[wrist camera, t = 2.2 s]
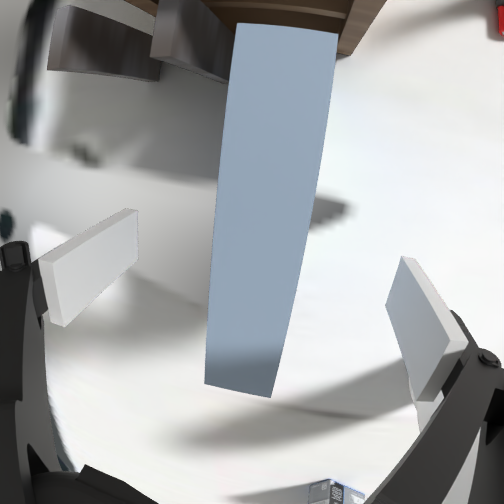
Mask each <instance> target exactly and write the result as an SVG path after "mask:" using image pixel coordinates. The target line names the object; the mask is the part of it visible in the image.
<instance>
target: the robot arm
mask: <svg viewBox="0 0 504 504" xmlns="http://www.w3.org/2000/svg"><path fill="white" fill-rule="evenodd" d="M137 260H138V210H132V209H123V210H121V211H120V212H118V213H116V214H114V215H112V216H110V217H109V218H107V219H105V220H103V221H101V222H99V223H98V224H96V225H94V226H92V227H91V228H89V229H87V230H85V231H84V232H82V233H80V234H78V235H77V236H75V237H73V238H72V239H70V240H68V241H67V242H65V243H63V244H61V245H59V246H58V247H56V248H54V249H53V250H51V251H50V252H48V253H46V254H45V255H43V256H41V257H40V258H38V259H37V260H35V261H34V262H32V263H31V258H30V252H29V245H28V243H27V242H24V241H14V242H9V243H7V244H4V245H3V246H1V247H0V261H1V266H2V271H0V504H158V503H157V502H155V501H153V500H152V499H150V498H149V497H147V496H145V495H144V494H142V493H141V492H139V491H138V490H136V489H135V488H133V487H132V486H130V485H129V484H127V483H126V482H124V481H122V480H119V479H117V478H115V477H112V476H110V475H108V474H105V473H103V472H101V471H99V470H96V469H94V468H92V467H90V466H88V465H86V464H85V465H84V467H83V469H82V470H81V472H80V473H78V472H71V471H62V470H61V467H60V465H59V462H58V459H57V454H56V450H55V444H54V438H53V432H52V426H51V419H50V411H49V403H48V393H47V382H46V369H45V348H44V320H43V316H42V314H43V313H44V312H46V311H47V310H48V313H49V317H50V321H51V322H52V323H54V324H57V325H59V326H62V327H64V328H65V327H66V326H67V325H68V324H69V323H70V322H71V321H72V320H73V319H74V318H75V317H76V316H77V315H78V314H79V313H80V312H82V311H83V310H84V309H85V308H86V307H87V306H88V305H89V304H90V303H91V302H92V301H93V300H94V299H95V298H96V297H97V296H99V295H100V294H101V293H102V292H103V291H104V290H105V289H106V288H107V287H108V286H109V285H111V284H112V283H113V282H114V281H115V280H116V279H117V278H118V277H119V276H120V275H122V274H123V273H124V272H125V271H126V270H127V269H128V268H129V267H131V266H132V265H133V264H134V263H135V262H136V261H137ZM385 306H386V309H387V312H388V315H389V317H390V320H391V323H392V326H393V329H394V332H395V335H396V338H397V341H398V344H399V347H400V350H401V353H402V356H403V359H404V363H405V366H406V369H407V372H408V376H409V379H410V383H411V386H412V390H413V393H414V397H415V400H416V401H420V402H434V400H435V399H436V397H437V395H438V394H439V392H440V391H442V393H443V396H444V399H443V400H442V402H441V403H440V405H439V406H438V407H437V409H436V410H435V412H434V413H433V415H432V416H431V417H430V420H429V422H428V423H427V425H426V426H425V427H424V429H423V430H422V432H421V433H420V435H419V436H418V437H417V439H416V440H415V442H414V443H413V444H412V446H411V447H410V448H409V450H408V451H407V452H406V454H405V455H404V456H403V458H402V459H401V460H400V461H399V463H398V464H397V465H396V466H395V468H394V469H393V470H392V471H391V473H390V474H389V475H388V476H387V477H386V479H385V480H384V481H383V482H382V483H381V484H380V486H379V487H378V488H377V489H376V490H375V491H374V492H373V493H372V495H371V496H370V497H369V498H368V499H367V500H366V501H365V502H364V503H363V504H442V502H443V501H444V499H445V497H446V496H447V494H448V492H449V491H450V489H451V487H452V485H453V483H454V482H455V480H456V478H457V476H458V474H459V472H460V470H461V468H462V466H463V464H464V462H465V460H466V458H467V456H468V454H469V452H470V450H471V448H472V446H473V443H474V441H475V439H476V437H477V434H478V432H479V430H480V437H479V445H478V452H477V459H476V465H475V470H474V476H473V481H472V486H471V490H470V495H469V499H468V503H467V504H504V369H503V368H501V362H500V360H499V359H498V358H497V356H496V355H495V354H493V353H492V352H490V351H488V350H486V349H482V348H479V347H478V345H477V344H476V342H475V340H474V339H473V337H472V335H471V334H470V332H469V331H468V329H467V327H466V326H465V324H464V323H463V321H462V319H461V318H460V317H459V316H458V315H457V314H456V313H455V312H454V311H453V310H449V308H448V307H447V305H446V304H445V302H444V301H443V299H442V298H441V296H440V294H439V293H438V291H437V290H436V288H435V287H434V285H433V284H432V282H431V281H430V279H429V278H428V277H427V275H426V274H425V272H424V271H423V269H422V268H421V266H420V265H419V264H418V262H417V261H416V259H413V258H408V257H403V256H401V259H400V262H399V266H398V269H397V272H396V275H395V278H394V281H393V284H392V287H391V290H390V293H389V296H388V299H387V302H386V304H385ZM480 427H481V428H480Z"/></svg>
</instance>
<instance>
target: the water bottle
mask: <svg viewBox="0 0 504 504" xmlns="http://www.w3.org/2000/svg"><path fill="white" fill-rule="evenodd" d="M409 389H410V393H411V397H412V400H413V403H414V405H415V408H416V410H417V418H418V425H419V430H420V433H421V432H422V430H423V429H424V427H425V426H426V425H427V423H428V422H429V420H430V417H431V416H432V415H433V413H434V412H435V410H436V409H437V407H438V406H439V405H440V403H441V402H442V400H443V399H444V396H443V393H442V391H440V392H439V394H438V395H437V397H436V399H435V400H434V402H420V401H416V400H415V397H414V393H413V390H412V386H411V383H410V379H409ZM480 428H481V427H480ZM479 437H480V430H479V432H478V434H477V437H476V439H475V441H474V443H473V446H472V448H471V450H470V452H469V454H468V456H467V458H466V460H465V462H464V464H463V466H462V468H461V470H460V472H459V474H458V476H457V478H456V480H455V482H454V483H453V485H452V487H451V489H450V491H449V492H448V494H447V496H446V497H445V499H444V501H443V502H442V504H467V503H468V499H469V495H470V490H471V486H472V481H473V476H474V470H475V465H476V459H477V452H478V445H479Z"/></svg>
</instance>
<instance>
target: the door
mask: <svg viewBox="0 0 504 504" xmlns="http://www.w3.org/2000/svg"><path fill="white" fill-rule="evenodd" d="M338 35H339V34H334V33H329V32H323V31H317V30H310V29H303V28H295V27H286V26H276V25H264V24H249V23H237V28H236V35H235V42H234V49H233V56H232V64H231V71H230V79H229V87H228V95H227V103H226V111H225V120H224V129H223V138H222V147H221V157H220V167H219V177H218V187H217V198H216V209H215V222H214V232H213V245H212V258H211V273H210V287H209V303H208V319H207V337H206V358H205V382H204V384H208V385H212V386H216V387H220V388H224V389H229V390H233V391H238V392H243V393H248V394H252V395H257V396H263V397H268V398H271V395H272V391H273V387H274V383H275V379H276V375H277V371H278V367H279V363H280V359H281V355H282V350H283V346H284V342H285V338H286V334H287V329H288V325H289V321H290V316H291V312H292V307H293V303H294V298H295V294H296V289H297V284H298V280H299V275H300V270H301V265H302V260H303V255H304V250H305V245H306V240H307V235H308V230H309V225H310V220H311V214H312V209H313V203H314V198H315V192H316V187H317V181H318V175H319V169H320V163H321V157H322V151H323V145H324V139H325V132H326V126H327V119H328V112H329V105H330V98H331V91H332V84H333V76H334V68H335V60H336V52H337V43H338Z"/></svg>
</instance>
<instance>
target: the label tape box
mask: <svg viewBox="0 0 504 504" xmlns="http://www.w3.org/2000/svg"><path fill="white" fill-rule="evenodd" d="M364 501H365V495H364V494H362V493H360V492H357V491H355V490H352V489H350V488H348V487H346V486H343V485H341V484H339V483H337V482H335V481H332V480H326V481H322V482H319V483H316V484H313V485H311V486H310V491H309V500H308V504H363V503H364Z"/></svg>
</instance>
